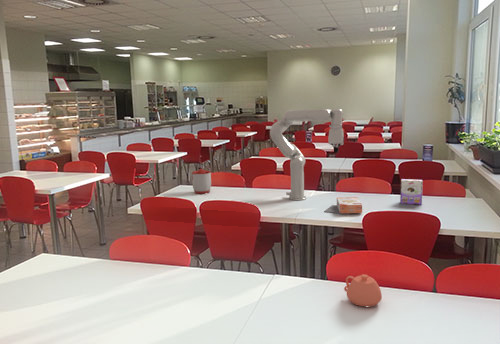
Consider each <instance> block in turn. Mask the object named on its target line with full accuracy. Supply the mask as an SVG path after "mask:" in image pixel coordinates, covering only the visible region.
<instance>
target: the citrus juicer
mask: <svg viewBox="0 0 500 344" xmlns="http://www.w3.org/2000/svg"><path fill="white" fill-rule="evenodd" d="M189 180H191V181H192V188H193V191H194V193H195V194H197V195H199V194H200V195H204V194H205V193H207V194H208V193H210V191H211V187H212V171H211V170H206V169H205V170H204V169H203V168H200V169H198V170H195V171H192V172H191V176H190V177H189Z"/></svg>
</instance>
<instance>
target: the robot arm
mask: <svg viewBox="0 0 500 344" xmlns="http://www.w3.org/2000/svg"><path fill="white" fill-rule="evenodd" d="M327 120H331V121H330V123H331V124H329V126H328V127H329V132H328V144H329V146H330V145H331V146H332V148H333V153H334V154H338V153H339V147H341V146H343V145H344V141H345V138H344V137H345V136H344V135H345V134H344V133H345V132H344V129H343V110H342V109H339V108H334V109H331V108H325V109H307V108H305V109H290V110H286V111H284V113H283V116H282V117H281V119H279V120H278V121H275V122H274V123H273V124H272V125H271V126H270V127H271V128H270V129H269V130H270V131H269V136H270V138H271V140H272V142H273V143H274V144H275V146H276V148H278V150H279V151H280V152H281V153H282V155H283V156H284V157H285V158H289V159H290V162H289V166H290V167H289V168H290V192H289V191H286V193H285V194H286V196H289V197H288V199H289V200H291V201H304V200H306V199H307V196H305V172H304V167H305V165H306V158H305V156H304V155H303V153H302V152H301V151H300V149H299V148H298V147H297V146H296V145H295V144H294V143H290V142H289V141H288V139H287V138H286V137H285V136H284V135H283V133H284V132H285V131H286V130H287V129H288V128H289V127H290V126H291V125H292V124H293V123H300V122H311V121H312V122H314V121H315V122H317V121H327Z"/></svg>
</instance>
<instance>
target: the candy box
mask: <svg viewBox="0 0 500 344" xmlns="http://www.w3.org/2000/svg"><path fill="white" fill-rule="evenodd" d="M399 203H400V204H402V205H403V204H405V205H418V206H419V205H420V206H421V205H422V203H423V179H413V178H412V179H410V178H408V179H407V178H406V179H405V178H401V180H400V202H399Z"/></svg>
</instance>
